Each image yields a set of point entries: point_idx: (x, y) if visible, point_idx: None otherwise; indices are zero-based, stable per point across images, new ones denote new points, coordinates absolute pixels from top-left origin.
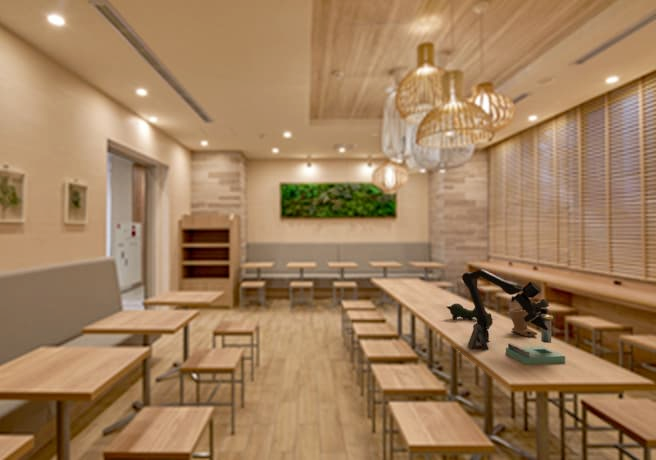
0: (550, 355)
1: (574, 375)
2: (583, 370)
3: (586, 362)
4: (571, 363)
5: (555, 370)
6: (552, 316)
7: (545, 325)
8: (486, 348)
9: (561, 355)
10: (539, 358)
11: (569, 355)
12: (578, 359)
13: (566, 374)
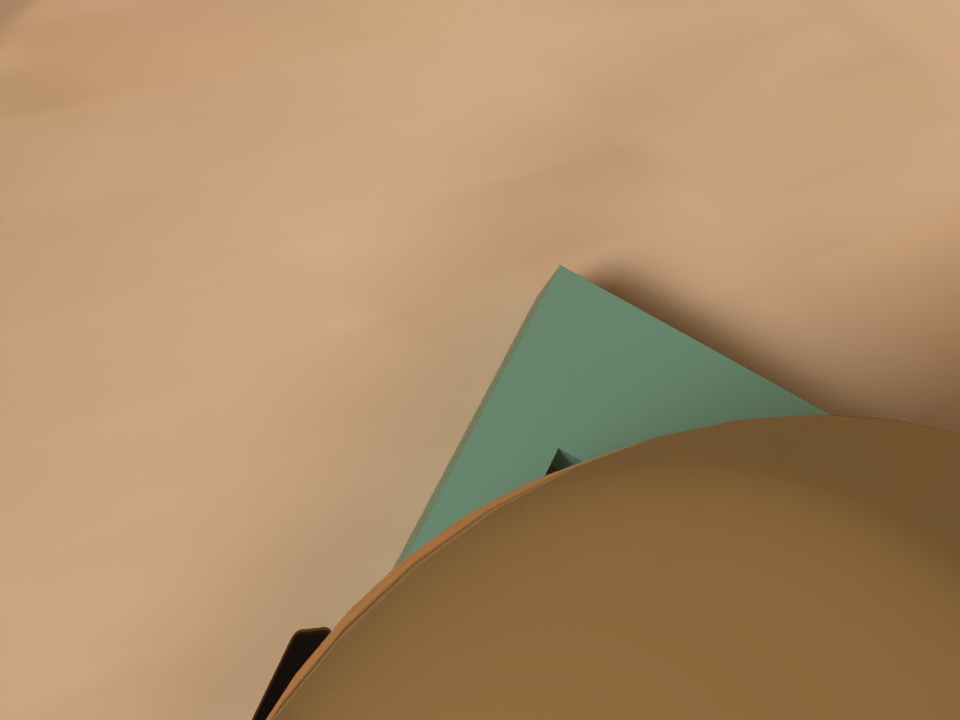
0: (727, 419)
1: (897, 74)
2: (655, 55)
3: (292, 113)
4: (509, 227)
5: (932, 258)
6: (658, 523)
7: None
8: None
9: (580, 310)
10: None
11: (117, 381)
12: (233, 224)
13: (942, 136)
